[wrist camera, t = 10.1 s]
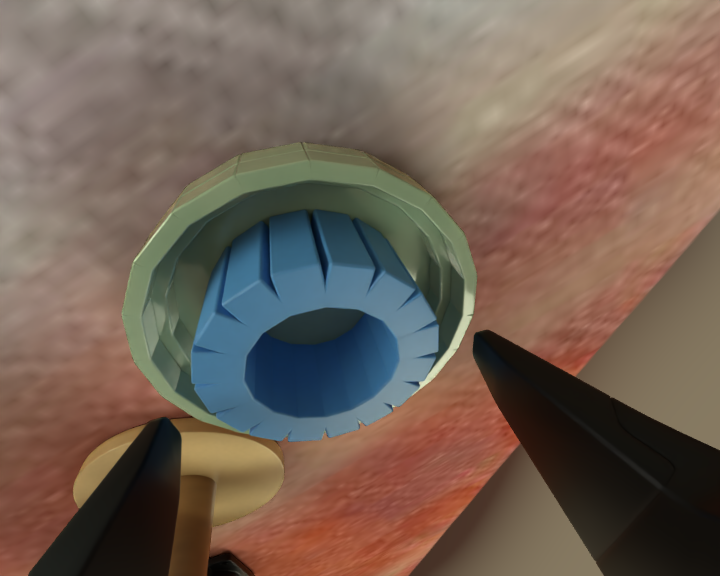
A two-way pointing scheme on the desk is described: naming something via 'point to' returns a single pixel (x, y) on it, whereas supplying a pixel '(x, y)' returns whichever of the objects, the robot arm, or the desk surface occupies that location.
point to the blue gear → (302, 361)
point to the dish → (258, 203)
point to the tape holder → (200, 483)
